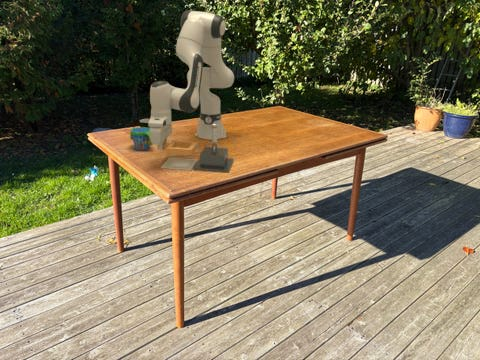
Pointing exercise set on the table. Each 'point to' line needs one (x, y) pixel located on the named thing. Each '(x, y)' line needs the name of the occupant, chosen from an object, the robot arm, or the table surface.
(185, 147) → the orange handled frame
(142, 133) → the snack cup
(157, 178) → the table surface
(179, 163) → the mat
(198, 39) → the robot arm
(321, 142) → the table surface
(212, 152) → the stand
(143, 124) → the coffee mug
